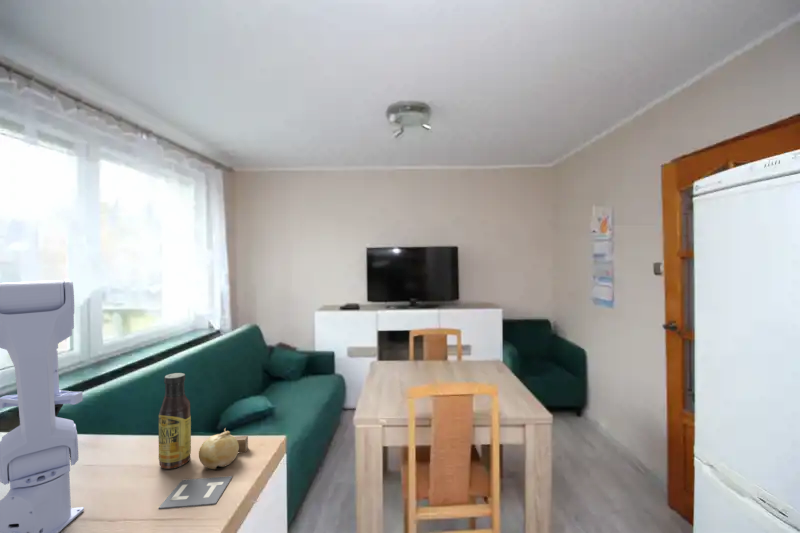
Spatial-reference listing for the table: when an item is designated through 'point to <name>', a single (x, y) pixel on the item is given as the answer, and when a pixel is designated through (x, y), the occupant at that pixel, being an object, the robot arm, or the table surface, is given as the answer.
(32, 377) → the robot arm
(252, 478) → the table surface
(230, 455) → the onion
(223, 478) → the card
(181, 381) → the sauce bottle
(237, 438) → the rail
